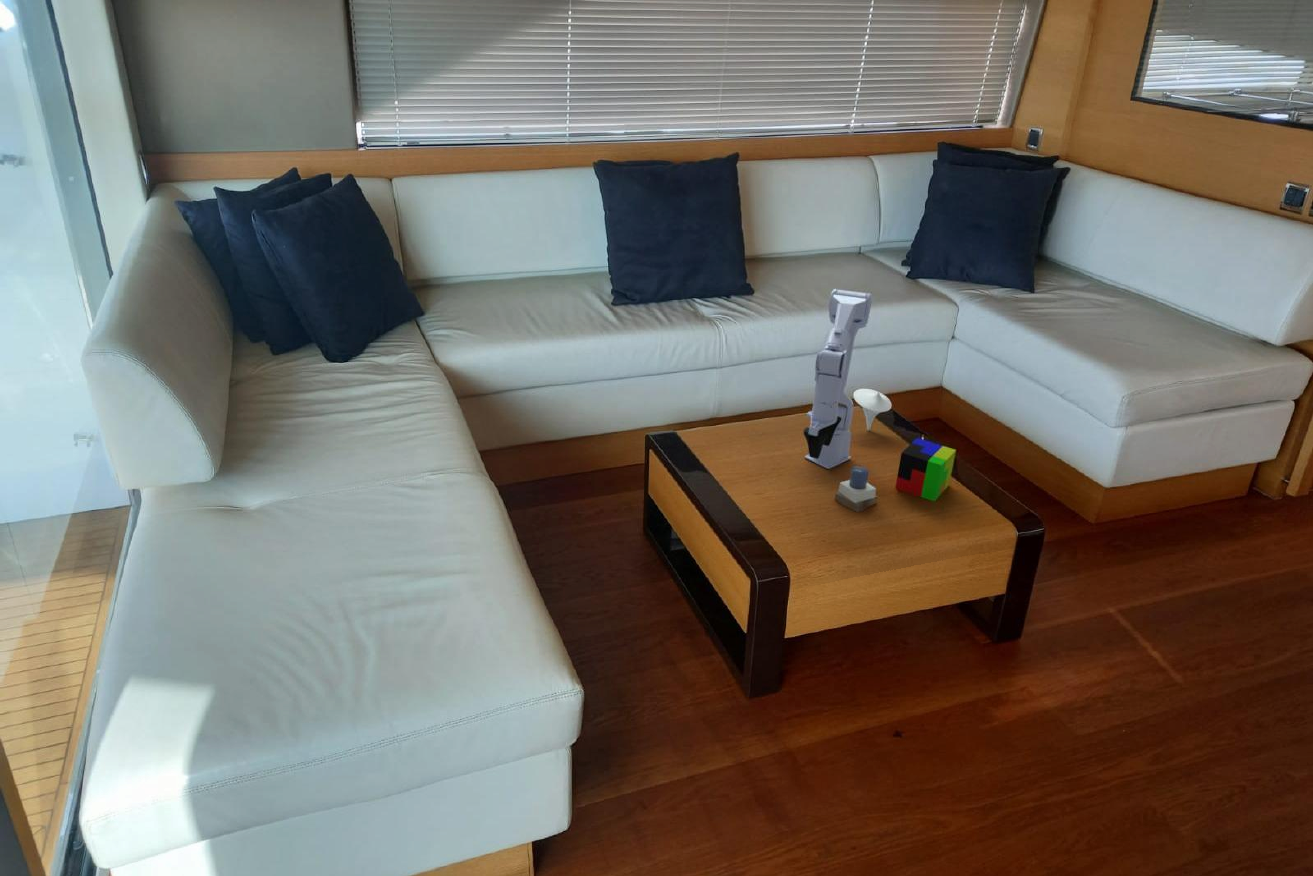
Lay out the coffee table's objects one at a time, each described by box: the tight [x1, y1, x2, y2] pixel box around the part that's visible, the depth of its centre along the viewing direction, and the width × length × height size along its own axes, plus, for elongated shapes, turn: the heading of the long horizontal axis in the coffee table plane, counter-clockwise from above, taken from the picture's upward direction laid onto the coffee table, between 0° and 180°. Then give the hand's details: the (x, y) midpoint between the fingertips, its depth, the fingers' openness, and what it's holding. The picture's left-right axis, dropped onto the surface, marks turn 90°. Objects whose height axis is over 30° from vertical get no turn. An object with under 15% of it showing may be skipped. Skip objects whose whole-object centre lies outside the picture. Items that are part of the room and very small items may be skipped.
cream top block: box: [838, 479, 877, 503], centre depth 222 cm, size 6×6×2 cm
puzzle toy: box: [894, 438, 957, 502], centre depth 229 cm, size 10×10×10 cm
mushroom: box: [853, 388, 892, 431], centre depth 256 cm, size 10×11×12 cm
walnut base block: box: [834, 491, 878, 513], centre depth 223 cm, size 7×7×2 cm
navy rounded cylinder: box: [849, 465, 870, 489], centre depth 221 cm, size 4×4×4 cm
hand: (819, 450), depth 224 cm, fingers open, 7 cm apart
